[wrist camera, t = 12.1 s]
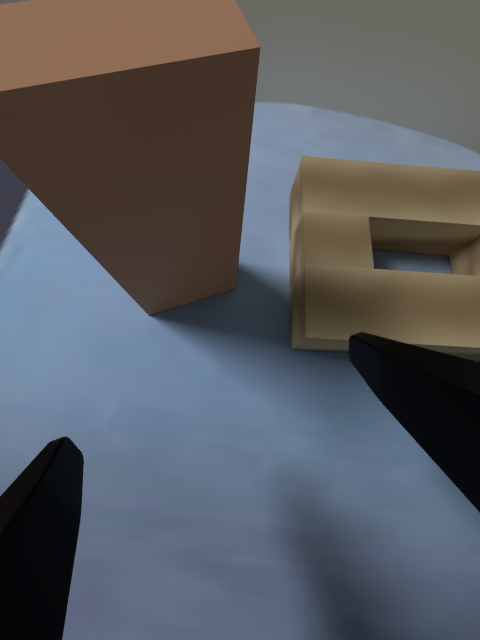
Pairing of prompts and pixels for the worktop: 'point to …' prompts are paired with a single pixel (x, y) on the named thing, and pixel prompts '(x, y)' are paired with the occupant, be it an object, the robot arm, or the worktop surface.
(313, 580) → the worktop surface
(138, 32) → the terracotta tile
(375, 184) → the pine slot box
